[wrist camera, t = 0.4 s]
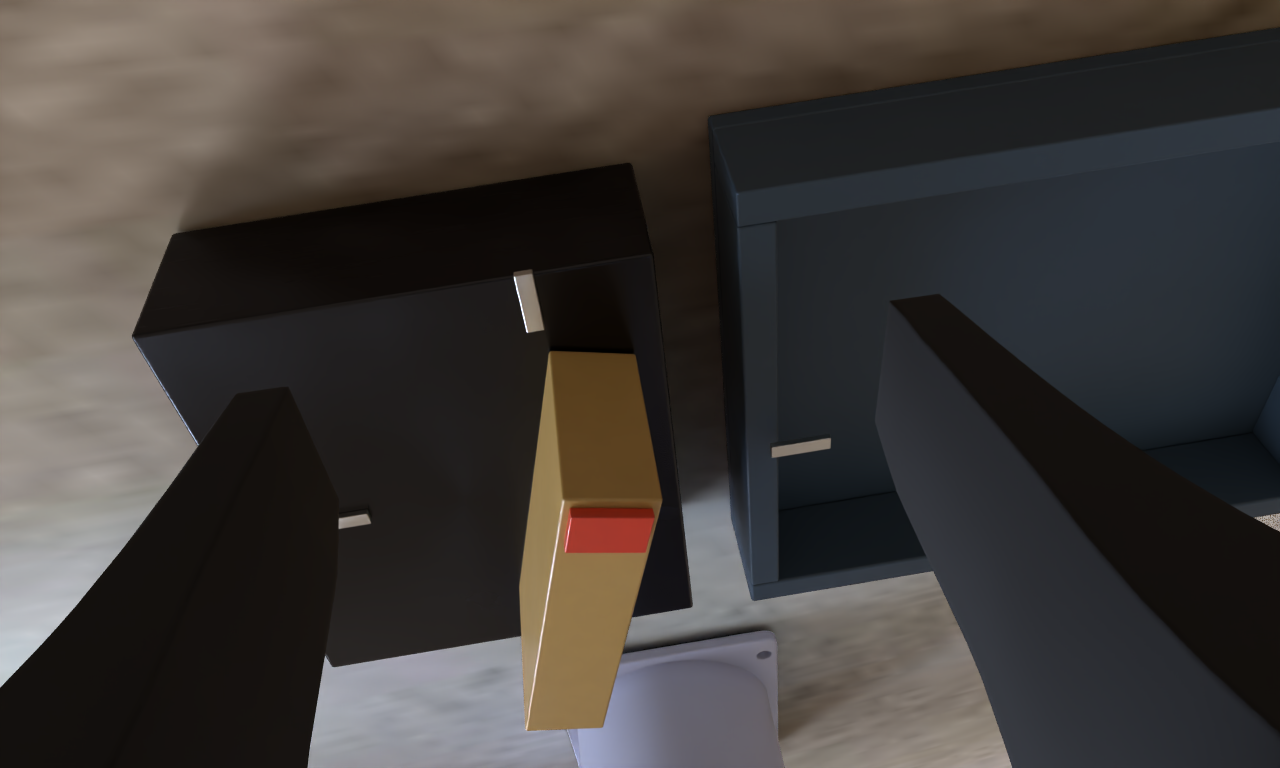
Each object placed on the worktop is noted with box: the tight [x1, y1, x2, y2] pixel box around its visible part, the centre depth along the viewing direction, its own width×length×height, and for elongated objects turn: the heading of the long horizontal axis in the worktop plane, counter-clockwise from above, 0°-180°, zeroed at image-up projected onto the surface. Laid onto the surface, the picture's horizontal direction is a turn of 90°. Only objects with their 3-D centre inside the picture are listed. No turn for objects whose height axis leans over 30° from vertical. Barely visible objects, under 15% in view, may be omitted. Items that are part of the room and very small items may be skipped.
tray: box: [708, 28, 1280, 601], centre depth 24 cm, size 14×17×3 cm
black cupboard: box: [132, 163, 831, 667], centre depth 24 cm, size 14×12×4 cm
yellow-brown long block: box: [519, 351, 663, 731], centre depth 21 cm, size 8×2×4 cm, turn 171°
